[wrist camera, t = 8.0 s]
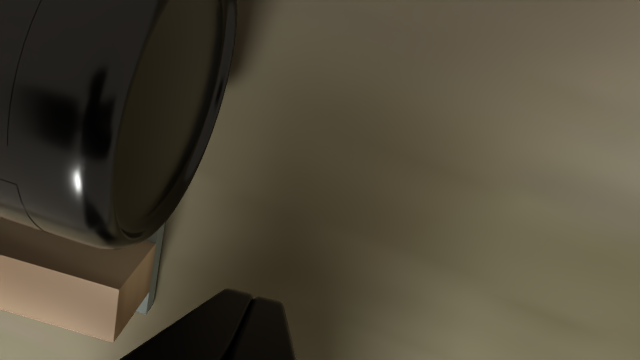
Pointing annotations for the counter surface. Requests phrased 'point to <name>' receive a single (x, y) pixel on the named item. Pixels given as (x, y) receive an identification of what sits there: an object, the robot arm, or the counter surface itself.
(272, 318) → the robot arm
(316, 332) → the counter surface
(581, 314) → the counter surface
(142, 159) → the supplement bottle
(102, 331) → the cradle rails
